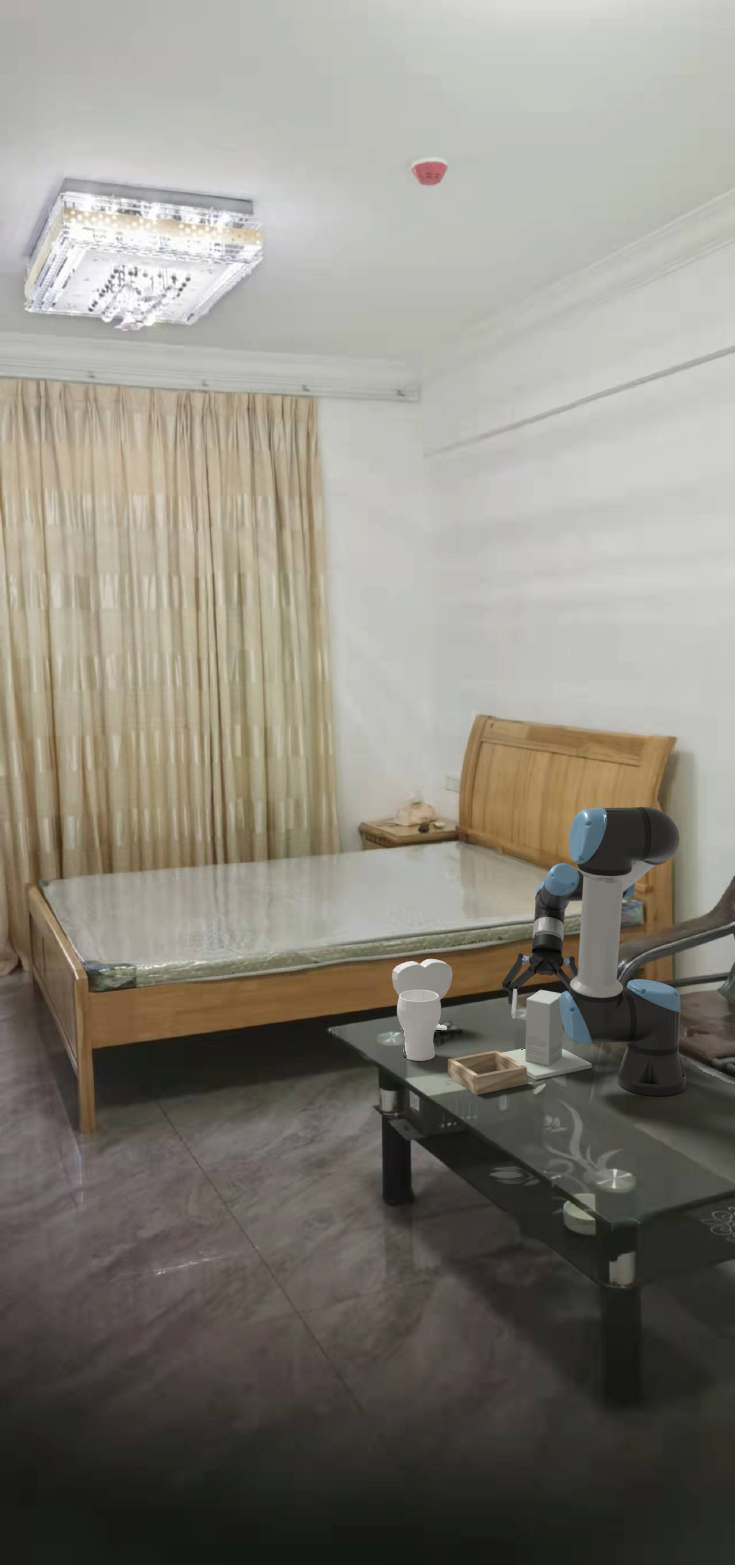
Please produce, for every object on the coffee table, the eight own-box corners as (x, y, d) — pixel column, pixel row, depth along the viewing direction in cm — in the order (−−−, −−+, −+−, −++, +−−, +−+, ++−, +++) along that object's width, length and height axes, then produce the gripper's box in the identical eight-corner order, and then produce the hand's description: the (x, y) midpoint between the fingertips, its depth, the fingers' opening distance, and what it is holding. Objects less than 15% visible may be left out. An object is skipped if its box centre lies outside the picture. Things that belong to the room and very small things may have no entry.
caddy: (526, 1084, 266) (526, 1067, 266) (476, 1094, 260) (476, 1077, 260) (496, 1066, 277) (496, 1050, 276) (447, 1076, 271) (447, 1059, 270)
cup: (437, 1064, 278) (437, 1003, 276) (393, 1061, 280) (393, 1001, 278) (443, 1049, 288) (443, 990, 287) (401, 1046, 291) (401, 987, 289)
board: (591, 1067, 276) (591, 1063, 276) (535, 1079, 269) (535, 1075, 268) (551, 1046, 290) (551, 1042, 290) (497, 1057, 283) (497, 1053, 283)
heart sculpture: (445, 1022, 308) (445, 956, 306) (453, 1028, 303) (453, 961, 301) (390, 1030, 303) (390, 962, 300) (398, 1036, 298) (398, 967, 296)
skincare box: (539, 1050, 284) (540, 988, 282) (564, 1056, 281) (565, 993, 279) (524, 1061, 277) (524, 997, 275) (549, 1067, 274) (550, 1002, 272)
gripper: (599, 950, 290) (595, 1028, 278) (498, 944, 296) (490, 1021, 283) (598, 934, 284) (595, 1014, 272) (496, 929, 290) (488, 1007, 277)
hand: (542, 1018), depth 277 cm, fingers open, 13 cm apart
